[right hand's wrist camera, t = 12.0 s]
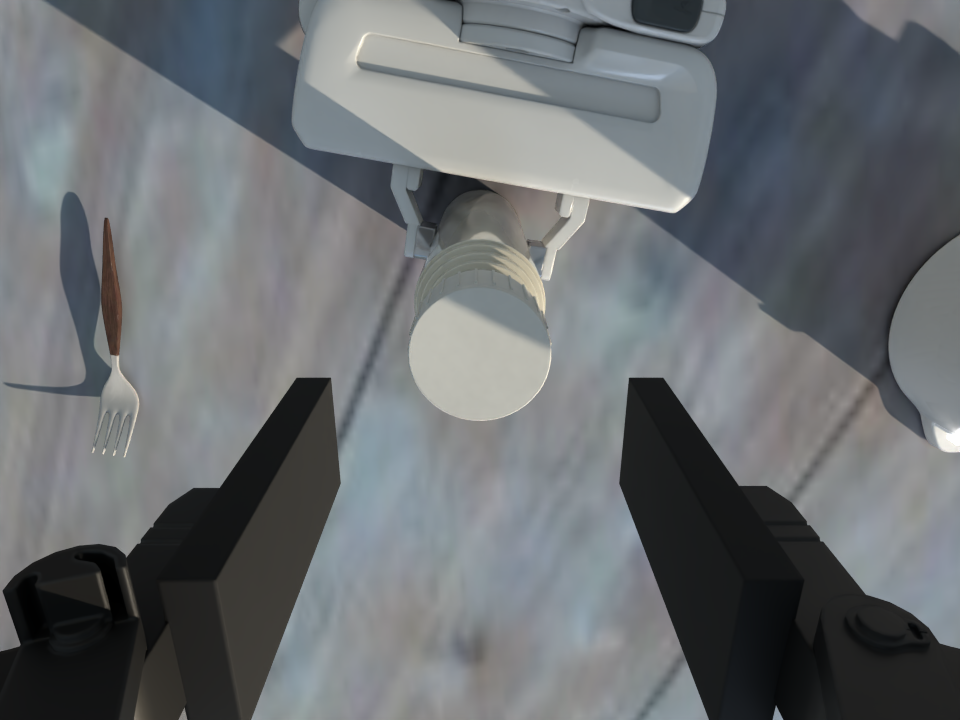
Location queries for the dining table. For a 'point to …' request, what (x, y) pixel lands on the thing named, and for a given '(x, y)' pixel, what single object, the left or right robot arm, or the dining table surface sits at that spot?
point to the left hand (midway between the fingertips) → (477, 266)
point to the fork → (114, 352)
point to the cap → (479, 346)
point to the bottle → (479, 245)
